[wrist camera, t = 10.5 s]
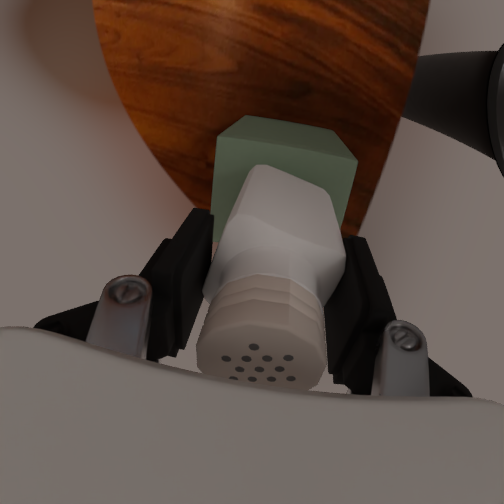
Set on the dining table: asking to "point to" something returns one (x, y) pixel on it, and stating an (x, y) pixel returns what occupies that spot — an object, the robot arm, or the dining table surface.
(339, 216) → the lidded olive box
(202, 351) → the salt shaker
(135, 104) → the dining table surface
